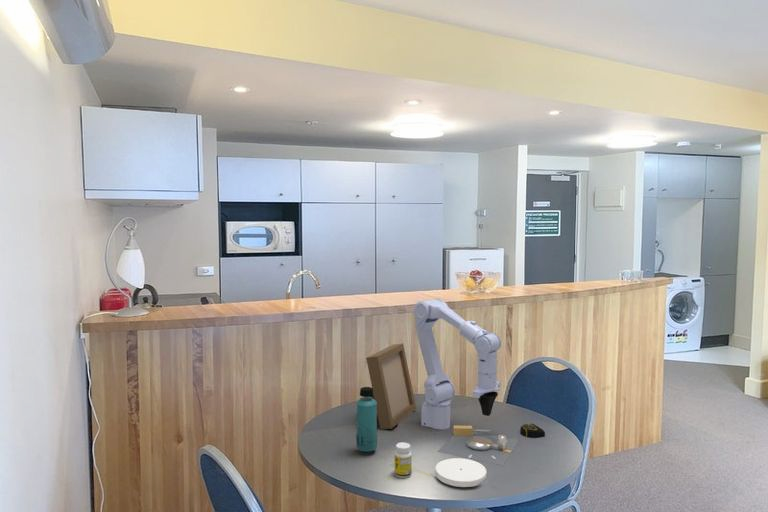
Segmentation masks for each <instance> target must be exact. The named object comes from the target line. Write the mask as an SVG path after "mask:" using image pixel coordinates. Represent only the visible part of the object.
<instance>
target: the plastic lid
mask: <svg viewBox="0 0 768 512" xmlns="http://www.w3.org/2000/svg"><path fill="white" fill-rule="evenodd" d="M434 471H435V473H434V474H435V477H436V479H438V480H439V481H440V482H442V483H444V484H446V485H449V486H453V487H457V488H459V487H460V488H466V487H467V488H469V487H477V486H479V485H481V483H482V482H483V481H485V480H486V478H487V474H488V473H487V468H486V467H485V466H484V465H483V464H481V463H480V462H478V461H477V460H473V459H469V458H464V457H460V458H459V457H458V458H457V457H456V458H455V457H454V458H453V457H452V458H446V459H444V460H443V459H442V460H441V461H439V462H437V464H435V470H434Z"/></svg>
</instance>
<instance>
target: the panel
mask: <svg viewBox="0 0 768 512" xmlns="http://www.w3.org/2000/svg"><path fill="white" fill-rule="evenodd" d="M473 436H481V437H486V438H488V439H490V440H491V441H492V442H493V443H494V444H497V445H498V435H493V434H487V433H484V432H473ZM473 436H455V435H454V434H453V435H452V436H451V437H450V438H449V439H448V440H447V441H446V442H445V443H444V444H443V445H442V446H440V448H439V449H438V450H437V451H436V452H437V453H442V454H446V455H452V456H455V457H460V458H464V459H470V460H473V461H479V462H484V463H488V464H493V465H498V466H502V467H503V466H504V465H505V463H506V462H507V460H508V458H509V457H510V455H511V454H512V452H513V450H514V449H515V448H516V446H517V444H518V443H519V439H513V438H508V437H506V450H504V451H501V450H498V449H493V448H491V449H489V450H484V451H479V450H473V449H470V448H469V447H467V445H466V439H467V438H469V437H473Z"/></svg>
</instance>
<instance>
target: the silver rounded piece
mask: <svg viewBox="0 0 768 512" xmlns="http://www.w3.org/2000/svg"><path fill="white" fill-rule="evenodd" d="M497 436H498V445H497V444H494V443H493V442H492V441H491V440H490V439H488V438H486V437H481V436H473V437H469V438H467V439H466V445H467V447H469V448H470V449H473V450H479V451H484V450H489V449H491V448H493V449H498V450H501V451H504V450H506V438H507V436H506V435H505V434H498V435H497Z"/></svg>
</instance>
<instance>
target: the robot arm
mask: <svg viewBox="0 0 768 512" xmlns="http://www.w3.org/2000/svg"><path fill="white" fill-rule="evenodd" d="M412 312H413V316H414V326H415V332H416V336H417V339H418V344H419V347H420V351H421V354H422V359H423V363H424V366H425V371H426V374H427V377H426V379H425V381H424V383H423V387H424V397H425V398H424V399H425V400H424V402H423V403H422V405H421V417H420V419H421V421H420V423H421V424H420V426H422V427H428V428H431V429H434V430H447V429H449V428H450V427H451V403H452V402H453V401H452V400H453V398H454V397H455V395H456V389H455V386H454V384H453V383H452V381H451V379H450V376H449V375H447V374H446V373H445V372H444V370H443V366H442V365H443V364H442V363H441V362H442V361H441V358H440V355H439V351H438V347H437V343H436V340H435V336H434V331H433V327H434V325H435V323H436V322H437V321H438V320H440V319H442V320H443V321H445V322H447V323H448V324H449V325H452V326H453V327H455V328H456V329H457V330H459V335H461V336H462V337H463V338H464V339H465V340H467V341H468V342H469V343H470V344H472V345H474V348H475V350H476V352H477V358H478V361H477V363H478V364H477V366H478V369H477V385H476V387H475V389H474V390H472V398H474V399H478V402H479V405H480V408H481V413H482V415H483V416H486V417H490V416H491V415H492V410H493V406H494V403H495V401H496V398H497V397H498V395H499V391H500V389H501V381H499V380H497V371H498V367H497V366H498V351H499V349H500V348H501V346H502V341H501V338H500V336H499V335H498V334H496V333H495V332H488V331H487V329H483V328H482V327H480V326H479V325H477V322H476V321H474V320H465V319H464V318H462V317H461V316H460V315H459V314H457V313H456V312H455V311H454V310H453V309H451V308H450V307H449V306H448V304H447V303H446V302H444V301H443V300H442V299H440V298H434V299H430V300H429V299H428V300H419V301H418V302H416V304H415V306H414V308H413V310H412Z"/></svg>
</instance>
